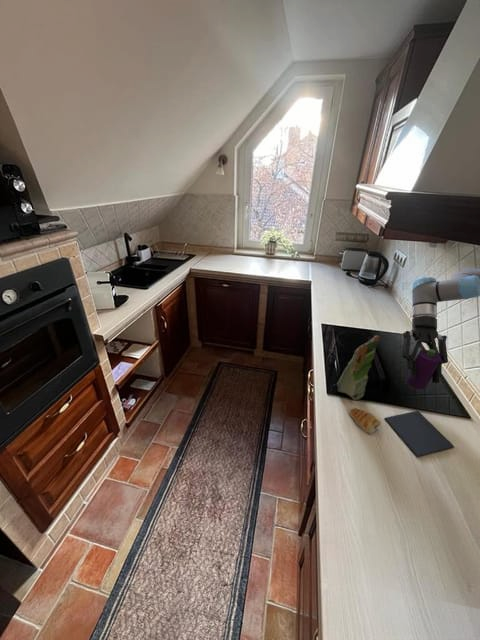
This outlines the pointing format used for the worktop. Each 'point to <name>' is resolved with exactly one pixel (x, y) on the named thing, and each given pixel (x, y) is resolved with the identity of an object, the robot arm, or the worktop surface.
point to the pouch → (358, 370)
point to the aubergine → (424, 368)
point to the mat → (418, 433)
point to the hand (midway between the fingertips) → (424, 380)
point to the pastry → (365, 420)
